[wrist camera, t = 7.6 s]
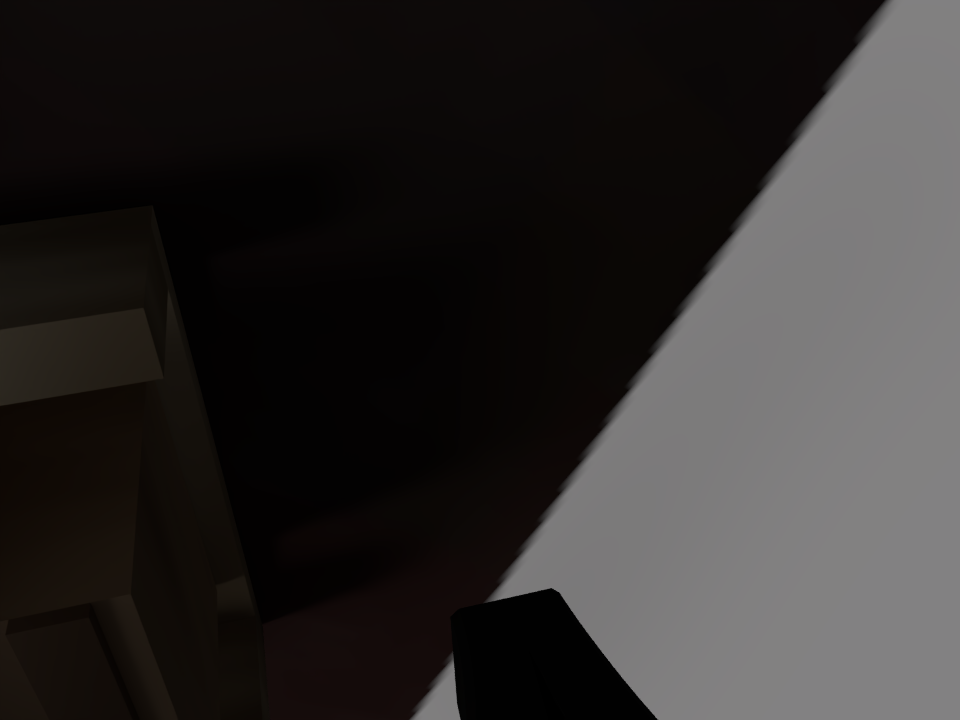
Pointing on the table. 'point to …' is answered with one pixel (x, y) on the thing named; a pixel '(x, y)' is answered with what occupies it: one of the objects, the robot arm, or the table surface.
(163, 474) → the crate
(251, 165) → the table surface
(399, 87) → the table surface
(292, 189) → the table surface
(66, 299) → the bay
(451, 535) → the table surface
